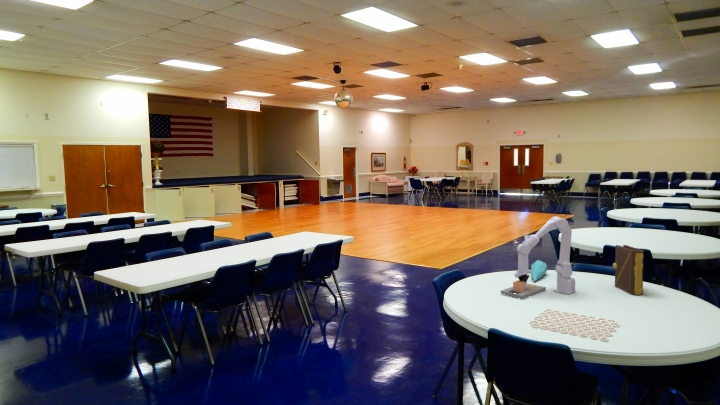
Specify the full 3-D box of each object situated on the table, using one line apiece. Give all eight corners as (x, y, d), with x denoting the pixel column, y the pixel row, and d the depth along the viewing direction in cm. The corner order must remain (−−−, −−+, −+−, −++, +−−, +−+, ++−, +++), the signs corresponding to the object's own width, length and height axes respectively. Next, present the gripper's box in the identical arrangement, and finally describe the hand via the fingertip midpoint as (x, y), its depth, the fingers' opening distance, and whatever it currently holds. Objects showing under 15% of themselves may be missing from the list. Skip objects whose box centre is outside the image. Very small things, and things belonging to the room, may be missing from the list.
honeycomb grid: (545, 310, 241) (545, 308, 241) (622, 323, 219) (622, 321, 219) (525, 326, 218) (525, 324, 218) (608, 343, 196) (608, 341, 196)
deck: (545, 290, 275) (545, 283, 274) (522, 299, 259) (522, 291, 259) (524, 286, 286) (524, 278, 285) (500, 294, 270) (500, 286, 270)
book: (646, 295, 260) (647, 251, 258) (630, 295, 260) (631, 251, 258) (624, 284, 282) (625, 244, 280) (610, 285, 282) (611, 244, 280)
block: (525, 290, 269) (525, 281, 269) (520, 292, 266) (520, 283, 266) (518, 288, 273) (518, 280, 273) (513, 290, 270) (513, 281, 270)
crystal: (530, 290, 293) (524, 276, 293) (537, 270, 323) (531, 257, 323) (546, 286, 288) (539, 271, 288) (551, 266, 318) (545, 253, 318)
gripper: (523, 261, 279) (523, 283, 280) (510, 265, 269) (510, 288, 271) (534, 263, 273) (534, 285, 274) (520, 267, 264) (520, 290, 265)
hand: (523, 287), depth 272 cm, fingers closed
